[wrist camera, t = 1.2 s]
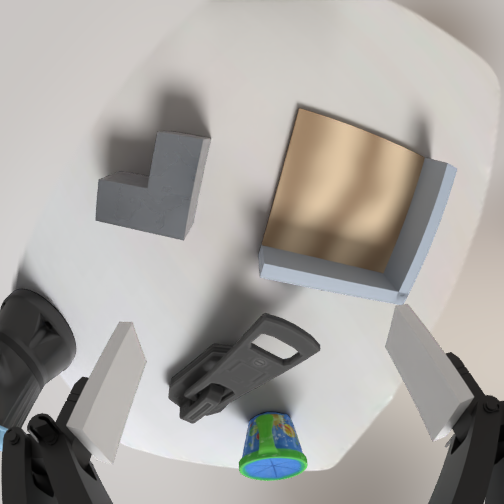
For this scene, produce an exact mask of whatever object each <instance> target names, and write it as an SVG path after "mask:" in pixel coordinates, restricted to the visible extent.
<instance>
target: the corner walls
mask: <svg viewBox="0 0 504 504" xmlns="http://www.w3.org/2000/svg"><path fill="white" fill-rule="evenodd" d="M456 172H457V168H455V167H453V166H452V165H450V164H448V163H445V162H441V161H437V160H433V159H429V158H425V159H424V163H423V166H422V170H421V173H420V176H419V180H418V183H417V186H416V189H415V192H414V195H413V198H412V201H411V204H410V207H409V210H408V213H407V215H406V218H405V221H404V224H403V226H402V229H401V232H400V234H399V237H398V239H397V242H396V244H395V247H394V249H393V252H392V254H391V257H390V259H389V261H388V264H387V266H386V268H385V271H384V273H380V272H376V271H371V270H367V269H363V268H359V267H354V266H350V265H346V264H341V263H337V262H333V261H329V260H324V259H320V258H316V257H311V256H307V255H303V254H298V253H294V252H290V251H285V250H281V249H276V248H272V247H268V246H263V245H262V244H261V248H260V251H259V255H258V258H259V271H260V278H264V279H269V280H274V281H279V282H283V283H288V284H293V285H298V286H303V287H308V288H313V289H318V290H323V291H328V292H333V293H339V294H344V295H349V296H354V297H360V298H365V299H370V300H376V301H381V302H387V303H392V304H398V305H403V304H404V302H405V301H406V299H407V297H408V295H409V293H410V291H411V289H412V286H413V284H414V282H415V280H416V278H417V276H418V274H419V272H420V269H421V267H422V265H423V263H424V260H425V258H426V256H427V253H428V251H429V249H430V246H431V244H432V241H433V239H434V236H435V234H436V231H437V229H438V226H439V223H440V221H441V218H442V215H443V212H444V209H445V207H446V204H447V201H448V198H449V195H450V191H451V188H452V185H453V182H454V178H455V175H456Z"/></svg>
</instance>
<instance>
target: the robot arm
mask: <svg viewBox="0 0 504 504" xmlns="http://www.w3.org/2000/svg"><path fill="white" fill-rule="evenodd" d="M385 347H386V349H387V351H388V353H389V355H390V356H391V358H392V360H393V362H394V364H395V366H396V368H397V370H398V371H399V373H400V375H401V377H402V379H403V381H404V383H405V385H406V387H407V389H408V391H409V393H410V395H411V397H412V399H413V401H414V403H415V405H416V407H417V409H418V411H419V413H420V415H421V417H422V420H423V421H424V424H425V426H426V428H427V430H428V432H429V435H430V437H431V439H432V441H435V440H438V439H440V438H443V437H445V436H447V435H448V433H449V432H450V431H451V429H453V431H454V433H455V434H454V435H453V436H452V437H451V439H450V440H449V441H448V442H447V444H446V446H445V447H447V446H448V445H449V444H450V447H449V450H448V453H447V456H446V459H445V462H444V465H443V468H442V471H441V473H440V476H439V479H438V482H437V484H436V486H435V489H434V491H433V494H432V496H431V499H430V501H429V503H428V504H483V503H484V500H485V504H504V401H499V400H498V399H497V398H495V397H493V396H489V395H486V396H485V394H484V393H483V392H482V390H481V389H480V387H479V386H478V384H477V383H476V381H475V380H474V378H473V377H472V375H471V374H470V373H469V371H468V370H467V368H466V367H465V366H464V364H463V363H462V361H461V360H460V358H458V357H457V356H456V355H454V354H453V353H452V352H450V353H446V354H445V353H444V351H443V350H442V348H441V347H440V346H439V344H438V343H437V342H436V340H435V339H434V337H433V336H432V335H431V333H430V332H429V331H428V329H427V328H426V327H425V325H424V324H423V323H422V321H421V320H420V319H419V317H418V316H417V315H416V314H415V312H414V311H413V310H412V308H411V307H410V306H409V305H408V304H404V305H397V306H395V310H394V315H393V319H392V323H391V327H390V331H389V334H388V338H387V342H386V345H385ZM75 354H76V344H75V340H74V337H73V334H72V332H71V330H70V328H69V326H68V324H67V323H66V321H65V320H64V319H63V317H62V316H61V315H60V313H59V312H58V311H57V310H56V309H55V308H54V307H53V306H52V305H51V304H50V303H49V302H48V301H47V300H45V299H44V298H43V297H41V296H40V295H38V294H36V293H34V292H32V291H29V290H25V289H18V290H15V291H13V292H12V293H11V294H10V295H9V296H8V297H7V298H6V299H5V300H4V302H3V303H2V306H1V309H0V451H2V501H3V504H113V503H112V501H111V499H110V498H109V496H108V494H107V492H106V490H105V488H104V486H103V485H102V482H101V480H100V478H99V477H98V475H97V472H96V470H95V468H94V466H93V464H92V463H91V461H90V458H91V455H93V456H94V458H95V459H97V461H101V462H105V463H109V464H113V463H114V459H115V456H116V452H117V449H118V446H119V442H120V439H121V436H122V433H123V430H124V426H125V423H126V420H127V417H128V414H129V411H130V408H131V405H132V402H133V399H134V396H135V393H136V390H137V388H138V385H139V382H140V379H141V376H142V373H143V371H144V368H145V365H146V362H147V361H146V359H145V356H144V353H143V351H142V348H141V345H140V342H139V339H138V337H137V334H136V331H135V328H134V325H133V322H119V323H118V325H117V327H116V329H115V330H114V332H113V334H112V336H111V338H110V339H109V341H108V343H107V345H106V347H105V348H104V350H103V352H102V354H101V356H100V358H99V360H98V362H97V363H96V365H95V367H94V369H93V371H92V373H91V375H90V377H89V378H87V377H82V378H81V379H79V380H78V381H77V382H76V383H75V384H74V386H73V388H72V390H71V392H70V393H71V394H69V396H68V398H67V401H66V402H65V404H64V406H63V408H62V410H61V412H60V414H59V416H58V418H57V420H56V422H55V421H54V420H53V419H52V418H51V417H50V416H49V415H48V414H43V413H42V414H37V415H35V416H34V417H32V419H31V420H30V421H29V423H28V426H27V431H28V432H29V433H30V434H26V433H25V432H24V431H23V430H22V429H21V428H22V425H23V424H24V421H25V420H26V418H27V416H28V414H29V412H30V410H31V408H32V406H33V405H34V403H35V401H36V399H37V397H38V395H39V394H40V392H41V390H42V389H43V387H44V385H45V384H46V383H48V382H49V381H50V380H52V379H53V378H54V377H56V376H57V375H58V374H60V373H61V372H62V371H64V370H66V369H67V368H68V367H69V365H70V364H71V362H72V360H73V359H74V357H75ZM485 497H486V498H485Z"/></svg>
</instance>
